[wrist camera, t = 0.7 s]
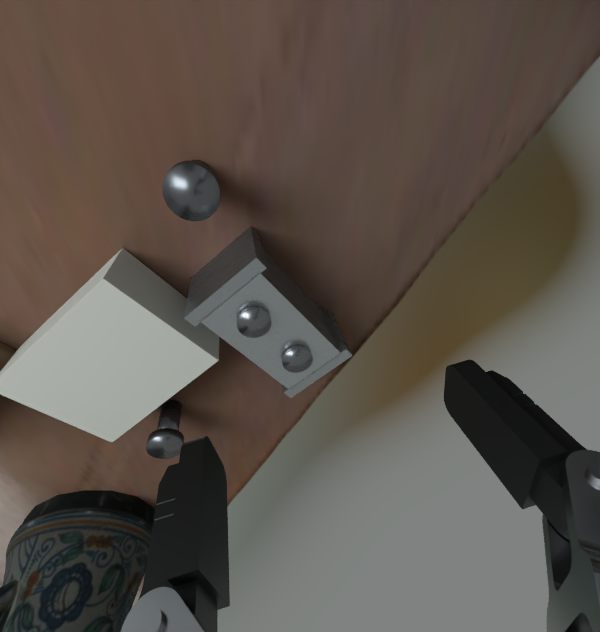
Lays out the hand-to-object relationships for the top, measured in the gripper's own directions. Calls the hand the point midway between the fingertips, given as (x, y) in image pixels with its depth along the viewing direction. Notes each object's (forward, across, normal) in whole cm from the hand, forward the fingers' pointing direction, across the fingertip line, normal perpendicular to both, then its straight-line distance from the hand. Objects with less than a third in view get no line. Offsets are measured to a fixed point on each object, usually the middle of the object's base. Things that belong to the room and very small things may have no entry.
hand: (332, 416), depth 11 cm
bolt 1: (+20, +14, +16) cm, 29 cm away
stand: (+20, +14, +6) cm, 25 cm away
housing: (+19, +1, +6) cm, 20 cm away
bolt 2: (+19, +4, -6) cm, 20 cm away
